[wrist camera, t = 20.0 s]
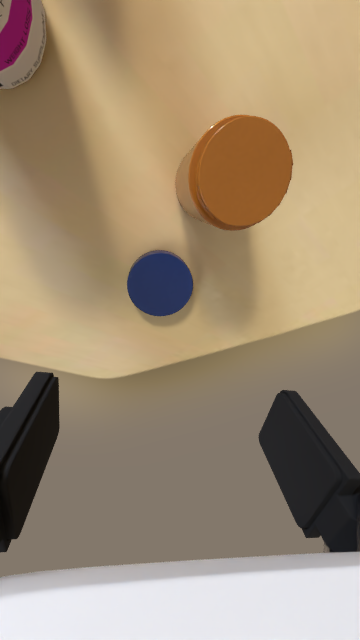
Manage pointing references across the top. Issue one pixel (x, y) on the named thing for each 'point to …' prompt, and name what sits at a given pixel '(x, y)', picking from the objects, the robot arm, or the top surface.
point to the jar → (235, 173)
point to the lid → (159, 283)
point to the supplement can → (20, 40)
